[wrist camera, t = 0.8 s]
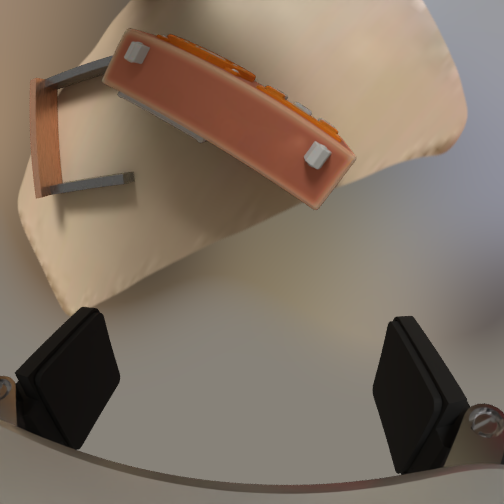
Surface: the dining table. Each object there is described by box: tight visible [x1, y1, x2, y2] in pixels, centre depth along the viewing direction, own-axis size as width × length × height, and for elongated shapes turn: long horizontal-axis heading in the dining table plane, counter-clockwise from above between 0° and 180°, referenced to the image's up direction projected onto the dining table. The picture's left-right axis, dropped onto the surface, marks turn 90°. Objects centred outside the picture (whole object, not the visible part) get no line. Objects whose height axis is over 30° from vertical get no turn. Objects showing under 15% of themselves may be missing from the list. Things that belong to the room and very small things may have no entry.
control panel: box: [102, 28, 356, 210], centre depth 27 cm, size 21×7×15 cm, turn 57°
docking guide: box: [30, 56, 134, 198], centre depth 33 cm, size 16×13×5 cm
